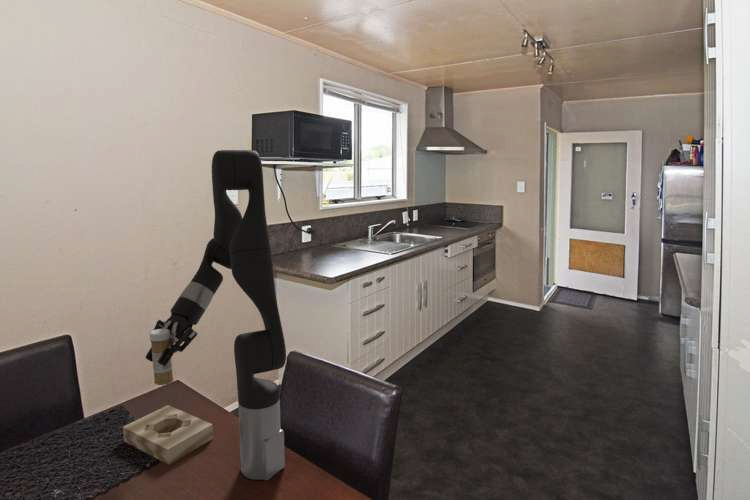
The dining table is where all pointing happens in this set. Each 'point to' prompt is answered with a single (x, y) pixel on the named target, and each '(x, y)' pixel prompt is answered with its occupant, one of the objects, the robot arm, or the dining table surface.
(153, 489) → the dining table surface
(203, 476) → the dining table surface
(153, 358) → the sprinkles bottle
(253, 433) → the robot arm
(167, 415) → the spice caddy
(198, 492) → the dining table surface
